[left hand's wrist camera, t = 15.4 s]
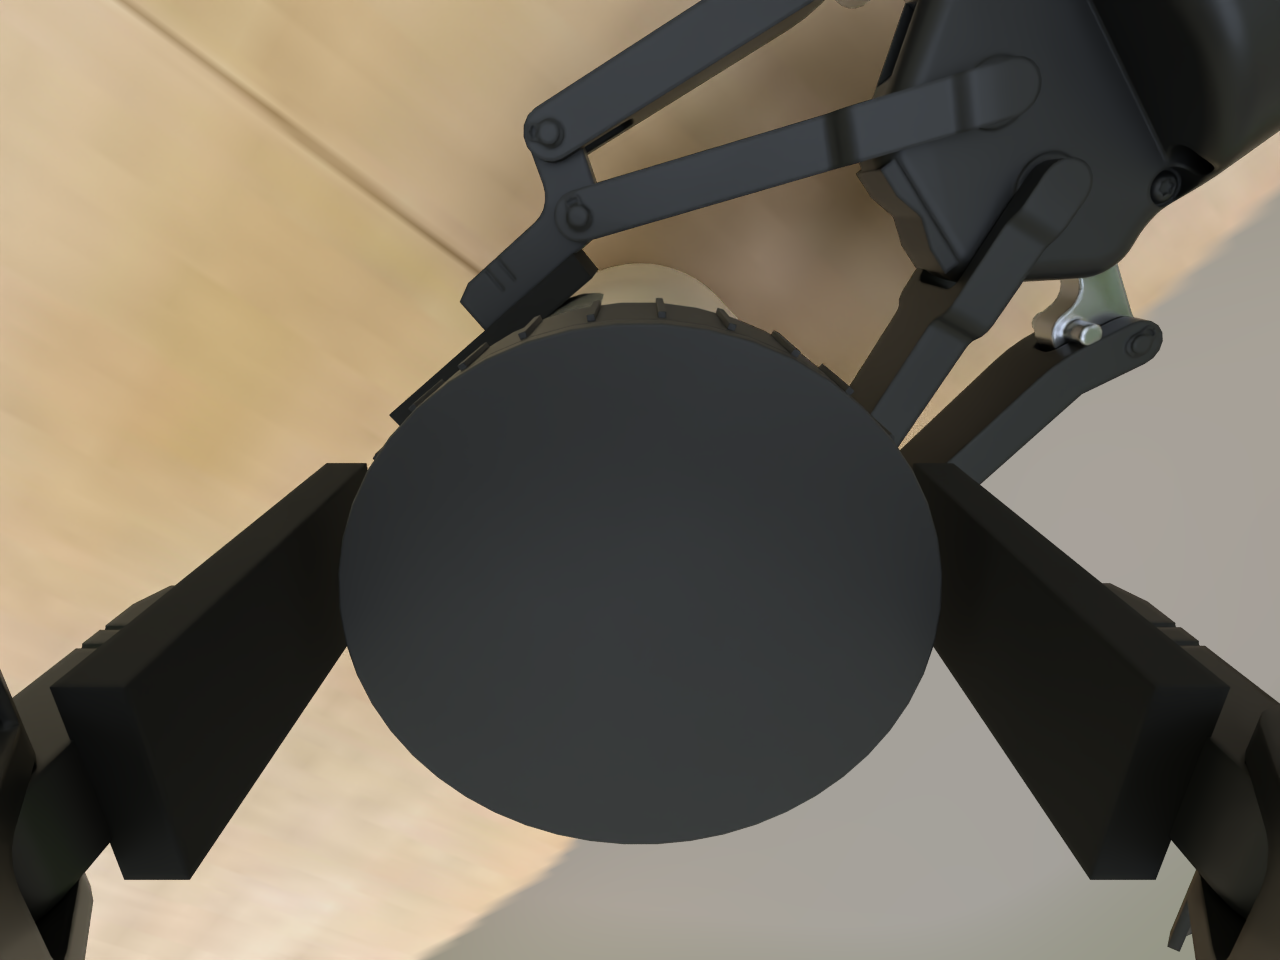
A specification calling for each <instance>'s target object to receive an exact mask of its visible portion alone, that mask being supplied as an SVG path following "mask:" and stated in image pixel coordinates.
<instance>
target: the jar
mask: <svg viewBox="0 0 1280 960" xmlns="http://www.w3.org/2000/svg"><path fill="white" fill-rule="evenodd" d="M656 298H663V301H664V303H666V304H674V305H681V306H689V307H696V308H700V309H704V310H707V311H711V312H714V313H716V310H717V308H720V309H723V310H724V311H725V312H726V313H727V314H728V315H729V317H733V318H735V319H737V320H739V319H738V318H737V317H736V316H735V315H734V314H733V313H732V312H731V311H730V309H729V308H728V307H727V306H726V305H725V304H724V303H723V302H722V301H721V299H720V298H719V297H718V296H717V295H716V294H715V293H713V292H712V291H711V290H710V289H709V288H708V287H707V286H705V285H704V284H703V283H701V282H700V281H699V280H697V279H695V278H694V277H692V276H690V275H688V274H686V273H684V272H682V271H679V270H676V269H673V268H671V267H667V266H662V265H657V264H648V263H632V264H623V265H618V266H613V267H610V268H607V269H604V270H601V271H598V272H596V274H595V275H594V276H593V278H592V279H591V280H590V281H588V282H587V283H586V284H585V285H584V286H583V287H582V288H580V289H579V290H578V291H577V292H576V293H575V294H573V295H572V296H571V297H570V298H569V299H568V300H566V301H565V302H564V303H563V304H562V305H561V306H560V307H558V308H557V309H556V310H555V311H554V312H553V313H551V314H550V315H549V316H548V317H552V316H555V315H559V314H562V313H566V312H570V311H573V310H577V309H580V308H585V307H591V305H592V303H593V301H597V300H600V301H601V305H607V304H614V303H656ZM548 317H547V318H548Z"/></svg>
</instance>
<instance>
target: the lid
mask: <svg viewBox="0 0 1280 960" xmlns="http://www.w3.org/2000/svg"><path fill="white" fill-rule="evenodd" d="M458 368H459V369H460V370H459V371H458V372H456V373H455V374H454V375H453V376H452V377H451V378H449V379H448V380H447V381H446V382H445V381H444V380H443V379H441V380H440V381H439V382H438V383H437V384H436V385H434V386H433V387H432V388H431V389H430V390H429V391H427V392H426V393H425V394H424V395H423V396H421V397H420V398H419V399H418V400H417V401H416V402H414V403H413V404H412V405H411V406H410V407H409V410H410V411H411V412H412V413H411V414H410V415H409V416H408V417H407V419H406V420H405V421H404V422H403V423H402V424H401V425H400V426H399V427H398V428H397V430H396V431H395V432H394V433H393V434H392V435H391V436H390V437H389V439H388V440H387V442H386V443H385V445H384V446H383V447H382V448H381V449H380V450H379V451H378V452H377V453H376V454H375V456H374V458H373V459H374V461H373V463H372V464H371V466H370V467H369V469H368V471H367V473H366V475H365V477H364V479H363V482H362V484H361V486H360V488H359V490H358V492H357V495H356V497H355V499H354V501H353V503H352V507H351V510H350V514H349V517H348V521H347V524H346V528H345V531H344V535H343V539H342V547H341V555H340V564H339V572H338V581H339V608H340V614H341V620H342V625H343V630H344V635H345V641H346V644H347V647H348V650H349V653H350V656H351V659H352V662H353V665H354V668H355V670H356V673H357V676H358V677H359V679H360V681H361V683H362V685H363V687H364V689H365V691H366V693H367V695H368V697H369V699H370V701H371V703H372V705H373V706H374V707H375V709H376V710H377V712H378V713H379V715H380V716H381V718H382V719H383V720H384V722H385V723H386V725H387V726H388V728H389V729H390V731H391V732H392V733H393V734H394V735H395V736H396V737H397V738H398V740H399V741H400V742H401V743H402V744H403V745H404V746H405V747H406V748H407V750H408V751H409V752H410V753H411V754H412V755H413V756H414V757H415V758H416V759H417V760H419V761H420V762H421V763H422V764H423V765H424V766H425V767H427V768H428V769H429V770H430V771H431V772H432V773H433V774H435V775H436V776H437V777H438V778H439V779H441V780H442V781H444V782H445V783H447V784H448V785H450V786H451V787H452V788H454V789H455V790H457V791H458V792H460V793H461V794H463V795H464V796H466V797H467V798H469V799H471V800H473V801H475V802H477V803H478V804H480V805H482V806H484V807H486V808H488V809H490V810H491V811H493V812H495V813H498V814H500V815H503V816H505V817H507V818H510V819H512V820H515V821H517V822H519V823H522V824H524V825H527V826H531V827H534V828H537V829H541V830H544V831H547V832H551V833H554V834H557V835H562V836H568V837H573V838H578V839H583V840H589V841H597V842H607V843H618V844H663V843H673V842H684V841H692V840H697V839H703V838H708V837H712V836H718V835H723V834H726V833H730V832H733V831H736V830H740V829H743V828H746V827H750V826H753V825H756V824H759V823H761V822H763V821H766V820H768V819H771V818H773V817H775V816H778V815H780V814H783V813H785V812H787V811H789V810H791V809H793V808H795V807H796V806H798V805H800V804H802V803H804V802H805V801H807V800H809V799H811V798H813V797H815V796H816V795H818V794H819V793H821V792H822V791H824V790H825V789H827V788H828V787H829V786H831V785H832V784H834V783H835V782H837V781H838V780H839V779H841V778H842V777H844V776H845V775H846V774H847V773H848V772H849V771H850V770H852V769H853V768H854V767H855V766H856V765H857V764H858V763H860V762H861V761H862V760H863V759H864V758H865V757H866V756H867V755H869V753H870V752H871V751H872V750H873V749H874V748H875V747H876V746H877V744H878V743H879V742H880V741H881V740H882V739H883V738H884V737H885V735H886V734H887V733H888V732H889V731H890V730H891V728H892V727H893V725H894V724H895V723H896V721H897V720H898V718H899V717H900V715H901V714H902V712H903V711H904V709H905V708H906V707H907V705H908V704H909V702H910V700H911V698H912V696H913V694H914V692H915V690H916V688H917V686H918V684H919V682H920V680H921V678H922V676H923V674H924V672H925V669H926V666H927V663H928V660H929V657H930V654H931V651H932V648H933V646H934V643H935V638H936V633H937V627H938V622H939V616H940V611H941V593H942V568H941V560H940V551H939V543H938V537H937V533H936V530H935V526H934V523H933V519H932V516H931V512H930V509H929V505H928V502H927V500H926V498H925V496H924V494H923V491H922V489H921V487H920V485H919V483H918V481H917V478H916V476H915V474H914V472H913V470H912V468H911V467H910V465H909V464H908V462H907V461H906V459H905V458H904V456H903V455H902V453H901V452H900V450H899V449H898V447H897V446H896V444H895V443H894V441H893V440H895V437H894V436H893V434H892V433H891V432H890V431H889V430H887V429H886V428H885V427H884V426H883V425H882V424H881V423H879V422H878V421H877V420H876V419H875V418H874V417H873V416H872V415H870V414H869V413H868V411H867V410H866V409H865V408H864V407H863V406H862V405H861V404H859V403H858V402H857V401H856V400H855V399H854V398H853V397H852V396H850V395H851V394H852V393H853V392H854V390H853V389H852V388H851V387H850V386H848V385H847V384H846V383H845V382H844V381H842V380H841V379H840V378H839V377H838V376H837V375H835V374H834V373H833V372H832V371H831V370H829V369H828V368H827V367H826V366H825V365H823V364H821V366H820V367H819V368H818V367H817V366H816V365H814V364H813V363H812V362H811V361H810V360H808V359H807V358H806V357H805V356H803V355H802V354H801V352H800V351H799V350H798V349H797V348H796V347H794V346H793V345H792V344H791V343H790V342H789V341H788V340H786V339H785V338H784V337H783V336H782V335H781V334H780V333H778V332H776V331H773V333H772V334H769V333H767V332H765V331H763V330H761V329H758V328H756V327H754V326H751V325H749V324H747V323H744V322H742V321H740V320H737V319H735V318H733V317H729V315H728V314H727V313H726V312H725V311H724V310H723V309H720V308H717V310H716V313H714V312H711V311H707V310H704V309H700V308H696V307H689V306H681V305H674V304H666V303H664V301H663V298H656V303H614V304H607V305H601V301H600V300H597V301H593V303H592V305H591V307H585V308H580V309H577V310H573V311H570V312H566V313H562V314H559V315H555V316H552V317H548V318H545V319H543V320H542V318H541V316H540V315H539V316H536V317H534V318H533V319H532V320H531V321H530V322H529V323H528V324H527V325H526V326H525V327H524V328H522V329H520V330H517V331H515V332H513V333H511V334H510V335H508V336H506V337H505V338H503V339H501V340H500V341H498V342H496V343H495V344H493V345H492V346H489V345H488V343H487V342H486V343H484V344H483V345H481V346H480V347H479V348H478V349H477V350H475V351H474V352H473V353H472V354H471V355H470V356H468V357H467V358H466V359H465V360H464V361H463V362H461V363H460V364H459V365H458Z"/></svg>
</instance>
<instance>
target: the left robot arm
mask: <svg viewBox="0 0 1280 960" xmlns="http://www.w3.org/2000/svg"><path fill="white" fill-rule="evenodd" d="M367 471H368V470H367V464H366V463H326V464H325V465H324V466H323V467H321V468H320V469H319V470H318V471H316V472H315V473H314V474H313V475H312V476H310V477H309V478H308V479H307V480H305V481H304V482H303V483H302V484H300V485H299V486H298V487H297V488H295V489H294V490H293V491H292V492H290V493H289V494H288V495H287V496H286V497H284V498H283V499H282V500H281V501H279V502H278V503H277V504H276V505H274V506H273V507H272V508H271V509H269V510H268V511H267V512H266V513H264V514H263V515H262V516H261V517H259V518H258V519H257V520H256V521H255V522H253V523H252V524H251V525H250V526H248V527H247V528H246V529H245V530H243V531H242V532H241V533H240V534H238V535H237V536H236V537H235V538H233V539H232V540H231V541H230V542H229V543H227V544H226V545H225V546H224V547H222V548H221V549H220V550H219V551H217V552H216V553H215V554H214V555H212V556H211V557H210V558H209V559H207V560H206V561H205V562H204V563H203V564H201V565H200V566H199V567H198V568H196V569H195V570H194V571H193V572H191V573H190V574H189V575H188V576H186V577H185V578H184V579H183V580H181V581H180V582H179V583H178V584H177V585H175V586H169V587H167V588H165V589H163V590H161V591H159V592H157V593H155V594H153V595H151V596H149V597H147V598H145V599H143V600H141V601H139V602H136V603H134V604H133V605H131V606H130V607H129V608H128V609H126V610H125V611H124V612H122V613H121V614H120V615H119V616H117V617H116V618H115V619H113V620H112V621H111V622H110V623H108V624H107V625H106V628H105V630H99V631H98V632H97V633H95V634H94V635H93V636H92V637H90V638H89V639H88V640H86V641H85V642H84V643H83V644H82V648H81V649H75V650H74V651H72V652H71V653H70V654H68V655H67V656H66V657H65V658H63V659H62V660H61V661H59V662H58V663H57V664H56V665H54V666H53V667H52V668H50V669H49V670H48V671H47V672H45V673H44V674H43V675H41V676H40V677H39V678H38V679H36V680H35V681H34V682H32V683H31V684H30V685H29V686H27V687H26V688H25V689H23V690H22V691H21V692H20V693H18V694H17V695H16V696H14V697H13V698H12V696H11V694H10V692H9V689H8V687H7V684H6V682H5V680H4V677H3V675H2V672H1V670H0V960H85V954H86V947H87V940H88V933H89V926H90V919H91V912H92V906H93V897H92V891H91V886H90V883H89V881H88V879H87V876H86V874H85V871H86V870H87V869H88V868H89V867H90V866H91V864H92V863H93V862H94V861H95V860H96V858H97V857H98V856H99V855H100V854H101V852H102V851H103V850H104V849H105V848H106V846H107V845H108V844H109V843H110V844H111V847H112V849H113V852H114V854H115V857H116V860H117V862H118V865H119V867H120V870H121V872H122V875H123V878H124V880H190V879H191V877H192V876H193V874H194V873H195V871H196V870H197V868H198V867H199V865H200V864H201V862H202V861H203V859H204V858H205V856H206V855H207V853H208V852H209V850H210V849H211V847H212V846H213V844H214V843H215V841H216V840H217V838H218V837H219V835H220V834H221V833H222V831H223V830H224V828H225V827H226V825H227V824H228V822H229V821H230V819H231V818H232V816H233V815H234V813H235V812H236V810H237V809H238V807H239V806H240V804H241V803H242V801H243V800H244V798H245V797H246V795H247V794H248V792H249V791H250V789H251V788H252V786H253V785H254V783H255V782H256V780H257V779H258V778H259V776H260V775H261V773H262V772H263V770H264V769H265V767H266V766H267V764H268V763H269V761H270V760H271V758H272V757H273V755H274V754H275V752H276V751H277V749H278V748H279V746H280V745H281V743H282V742H283V740H284V739H285V737H286V736H287V734H288V733H289V731H290V730H291V728H292V727H293V725H294V724H295V723H296V721H297V720H298V718H299V717H300V715H301V714H302V712H303V711H304V709H305V708H306V706H307V705H308V703H309V702H310V700H311V699H312V697H313V696H314V694H315V693H316V691H317V690H318V688H319V687H320V685H321V684H322V682H323V681H324V679H325V678H326V676H327V675H328V673H329V672H330V670H331V669H332V667H333V666H334V665H335V663H336V662H337V660H338V659H339V657H340V656H341V654H342V653H343V651H344V650H345V648H346V647H347V644H346V641H345V635H344V630H343V625H342V620H341V614H340V608H339V581H338V572H339V564H340V555H341V547H342V539H343V535H344V531H345V528H346V524H347V521H348V517H349V514H350V510H351V507H352V503H353V501H354V499H355V497H356V495H357V492H358V490H359V488H360V486H361V484H362V482H363V479H364V477H365V475H366V473H367ZM913 472H914V474H915V476H916V478H917V481H918V483H919V485H920V487H921V489H922V491H923V494H924V496H925V498H926V500H927V502H928V505H929V509H930V512H931V516H932V519H933V523H934V526H935V530H936V533H937V537H938V543H939V551H940V560H941V568H942V593H941V611H940V616H939V622H938V627H937V633H936V638H935V643H934V646H933V647H934V648H935V650H936V651H937V653H938V654H939V656H940V657H941V659H942V660H943V662H944V663H945V665H946V666H947V667H948V669H949V670H950V672H951V673H952V675H953V676H954V678H955V679H956V681H957V682H958V684H959V685H960V687H961V688H962V690H963V691H964V693H965V694H966V696H967V697H968V699H969V700H970V702H971V703H972V705H973V706H974V708H975V709H976V711H977V712H978V713H979V715H980V717H981V718H982V720H983V721H984V722H985V724H986V725H987V727H988V728H989V730H990V731H991V733H992V734H993V736H994V737H995V739H996V740H997V742H998V743H999V745H1000V746H1001V748H1002V749H1003V751H1004V752H1005V754H1006V755H1007V757H1008V758H1009V760H1010V761H1011V763H1012V764H1013V766H1014V767H1015V769H1016V770H1017V772H1018V773H1019V775H1020V776H1021V777H1022V779H1023V780H1024V782H1025V783H1026V785H1027V786H1028V788H1029V789H1030V791H1031V792H1032V794H1033V795H1034V797H1035V798H1036V800H1037V801H1038V803H1039V804H1040V806H1041V807H1042V809H1043V810H1044V812H1045V813H1046V815H1047V816H1048V818H1049V819H1050V821H1051V822H1052V824H1053V825H1054V827H1055V828H1056V830H1057V831H1058V832H1059V834H1060V835H1061V837H1062V838H1063V840H1064V841H1065V843H1066V844H1067V846H1068V847H1069V849H1070V850H1071V852H1072V853H1073V855H1074V856H1075V858H1076V859H1077V861H1078V862H1079V864H1080V865H1081V867H1082V868H1083V870H1084V871H1085V873H1086V874H1087V876H1088V877H1089V879H1090V880H1156V877H1157V875H1158V872H1159V870H1160V867H1161V865H1162V862H1163V860H1164V857H1165V854H1166V852H1167V849H1168V847H1169V844H1170V842H1171V840H1172V841H1173V843H1174V844H1175V845H1176V846H1177V847H1178V848H1179V850H1180V851H1181V852H1182V853H1183V854H1184V856H1185V857H1186V858H1187V859H1188V860H1189V861H1190V863H1191V864H1192V865H1193V866H1194V867H1195V868H1196V871H1195V874H1194V876H1193V879H1192V881H1191V883H1190V886H1189V888H1188V891H1187V893H1186V896H1185V898H1184V900H1183V903H1182V905H1181V908H1180V910H1179V912H1178V915H1177V917H1176V919H1175V922H1174V924H1173V927H1172V929H1171V932H1170V936H1169V941H1168V947H1170V948H1172V949H1174V950H1177V951H1180V949H1181V947H1182V945H1183V942H1184V940H1185V938H1186V936H1188V935H1190V934H1192V937H1193V944H1194V951H1195V958H1196V960H1280V703H1278V702H1277V701H1276V700H1274V699H1273V698H1272V697H1271V696H1269V695H1268V694H1267V693H1265V692H1264V691H1263V690H1261V689H1260V688H1259V687H1258V686H1256V685H1255V684H1254V683H1252V682H1251V681H1250V680H1249V679H1247V678H1246V677H1245V676H1243V675H1242V674H1241V673H1239V672H1238V671H1237V670H1236V669H1234V668H1233V667H1232V666H1230V665H1229V664H1228V663H1226V662H1225V661H1224V660H1223V659H1221V658H1220V657H1219V656H1217V655H1216V654H1215V653H1213V652H1212V651H1211V650H1210V649H1208V648H1207V647H1206V646H1200V645H1199V641H1198V640H1197V639H1195V638H1194V637H1193V636H1191V635H1190V634H1189V633H1188V632H1186V631H1185V630H1184V629H1182V628H1181V627H1176V626H1175V622H1173V621H1172V620H1171V619H1169V618H1168V617H1167V616H1166V615H1164V614H1163V613H1162V612H1160V611H1159V610H1158V609H1156V608H1155V607H1154V606H1152V605H1151V604H1150V603H1149V602H1147V601H1145V600H1143V599H1141V598H1139V597H1137V596H1135V595H1133V594H1131V593H1129V592H1127V591H1125V590H1123V589H1121V588H1119V587H1117V586H1114V585H1113V584H1110V583H1101V582H1100V581H1099V580H1097V579H1096V578H1095V577H1094V576H1092V575H1091V574H1090V573H1089V572H1087V571H1086V570H1085V569H1084V568H1082V567H1081V566H1080V565H1079V564H1077V563H1076V562H1075V561H1074V560H1073V559H1071V558H1070V557H1069V556H1067V555H1066V554H1065V553H1064V552H1063V551H1061V550H1060V549H1059V548H1058V547H1056V546H1055V545H1054V544H1053V543H1051V542H1050V541H1049V540H1048V539H1047V538H1045V537H1044V536H1043V535H1041V534H1040V533H1039V532H1038V531H1037V530H1035V529H1034V528H1033V527H1032V526H1030V525H1029V524H1028V523H1027V522H1025V521H1024V520H1023V519H1022V518H1020V517H1019V516H1018V515H1017V514H1016V513H1014V512H1013V511H1012V510H1011V509H1009V508H1008V507H1007V506H1006V505H1004V504H1003V503H1002V502H1001V501H999V500H998V499H997V498H996V497H994V496H993V495H992V494H991V493H990V492H988V491H987V490H986V489H985V488H983V487H982V486H981V485H980V484H978V483H977V482H976V481H975V480H973V479H972V478H971V477H970V476H968V475H967V474H966V473H965V472H964V471H962V470H961V469H960V468H959V467H957V466H956V465H955V464H954V463H914V464H913Z"/></svg>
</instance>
